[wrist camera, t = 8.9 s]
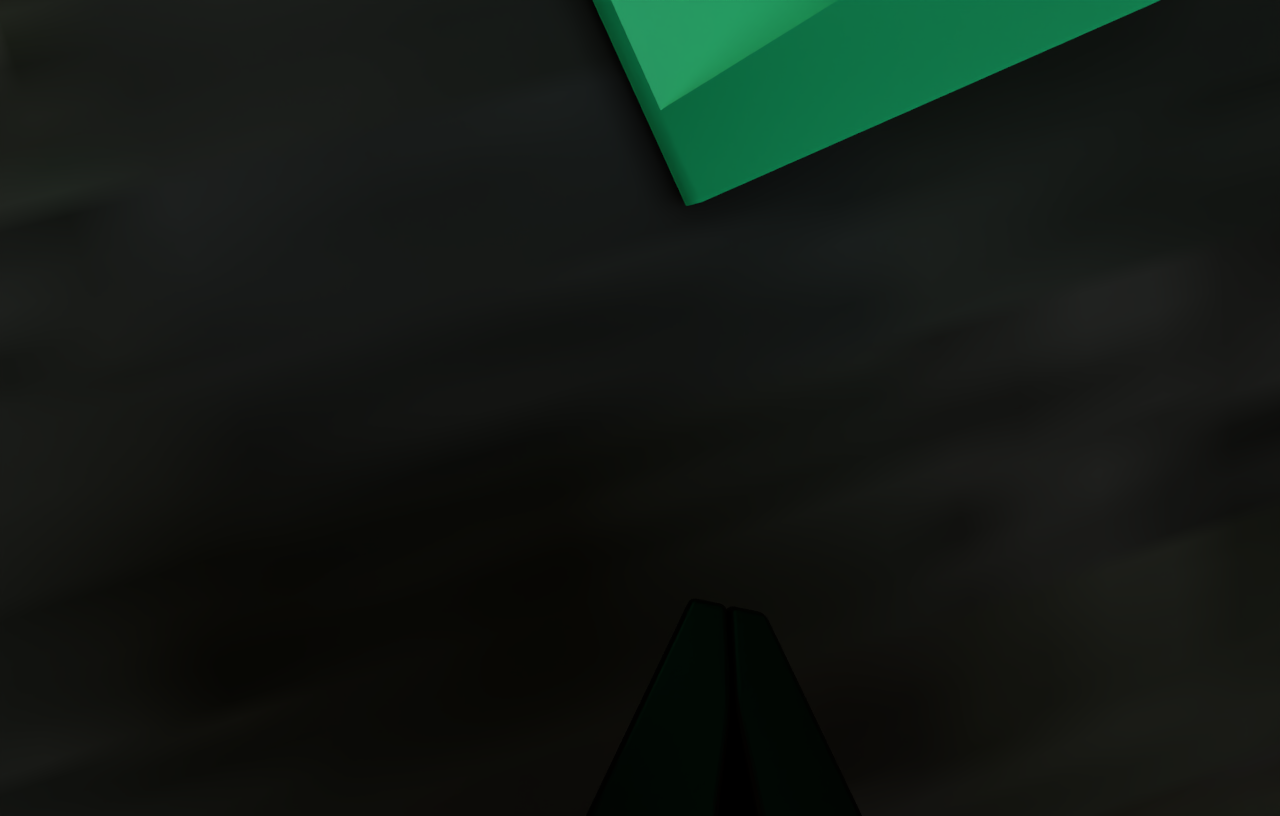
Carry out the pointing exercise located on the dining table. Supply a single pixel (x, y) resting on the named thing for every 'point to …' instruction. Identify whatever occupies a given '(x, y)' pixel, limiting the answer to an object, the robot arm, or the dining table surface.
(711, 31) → the camera mount
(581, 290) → the dining table surface
